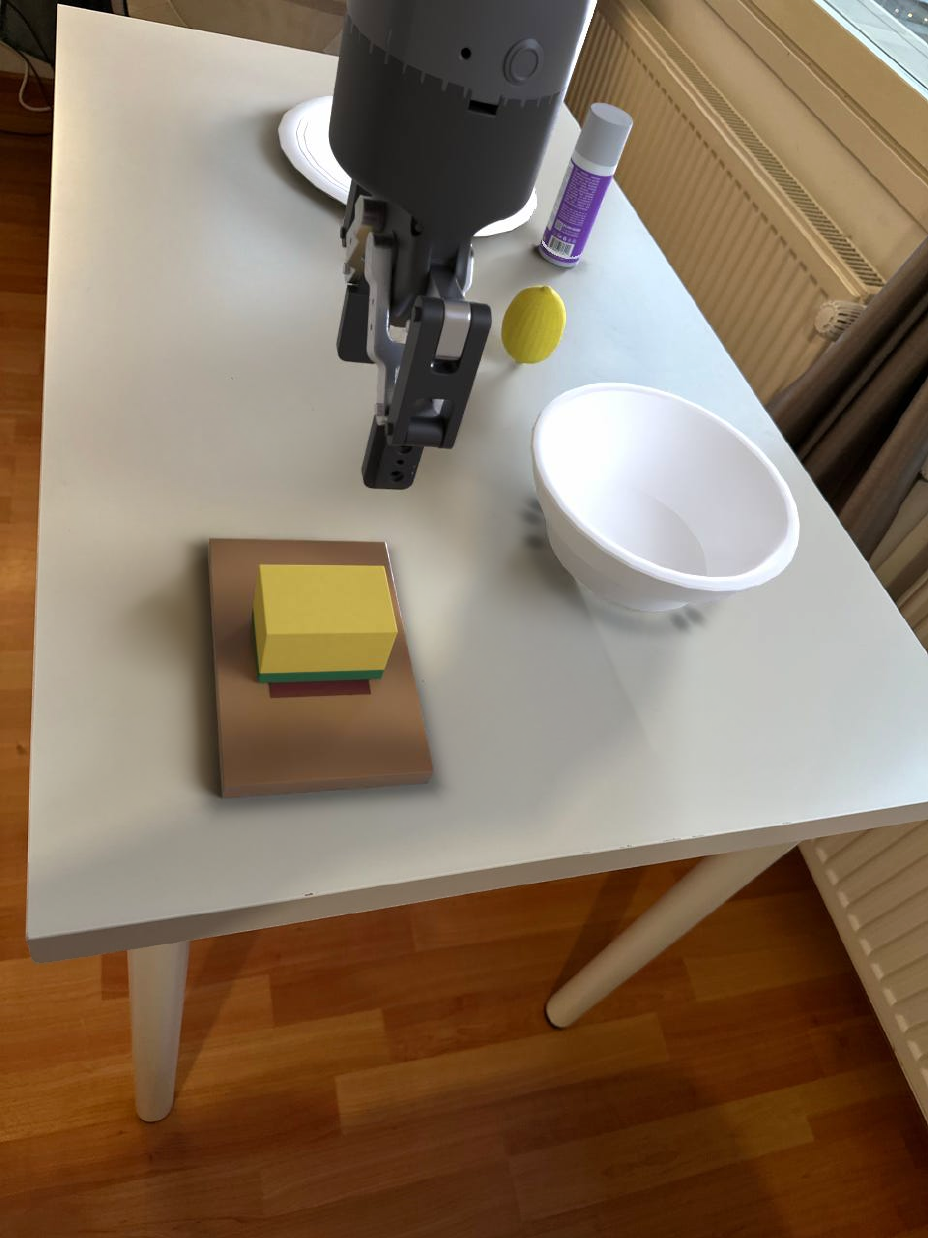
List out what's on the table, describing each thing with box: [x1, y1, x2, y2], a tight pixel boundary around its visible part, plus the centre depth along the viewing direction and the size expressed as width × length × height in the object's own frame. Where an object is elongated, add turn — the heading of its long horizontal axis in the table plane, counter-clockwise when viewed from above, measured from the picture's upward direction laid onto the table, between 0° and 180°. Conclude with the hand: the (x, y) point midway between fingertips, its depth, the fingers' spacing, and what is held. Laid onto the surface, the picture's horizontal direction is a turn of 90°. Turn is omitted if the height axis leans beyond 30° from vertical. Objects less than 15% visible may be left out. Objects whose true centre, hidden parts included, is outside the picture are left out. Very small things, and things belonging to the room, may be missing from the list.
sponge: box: [252, 565, 398, 683], centre depth 52 cm, size 8×5×5 cm, turn 102°
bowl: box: [530, 382, 801, 613], centre depth 67 cm, size 21×21×8 cm
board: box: [207, 537, 435, 799], centre depth 55 cm, size 18×12×2 cm, turn 12°
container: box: [538, 102, 634, 268], centre depth 91 cm, size 5×5×15 cm
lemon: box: [500, 285, 567, 365], centre depth 79 cm, size 6×6×8 cm
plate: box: [277, 94, 537, 239], centre depth 97 cm, size 29×29×2 cm
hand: (370, 417), depth 40 cm, fingers open, 8 cm apart
